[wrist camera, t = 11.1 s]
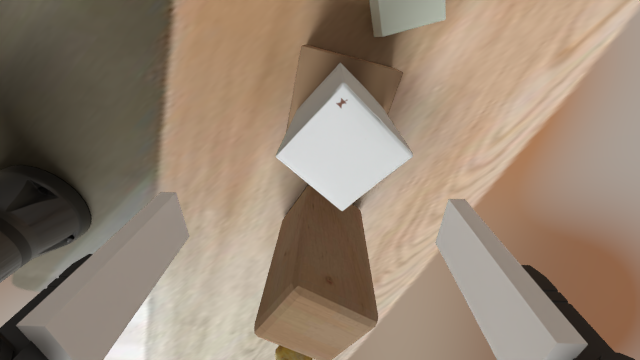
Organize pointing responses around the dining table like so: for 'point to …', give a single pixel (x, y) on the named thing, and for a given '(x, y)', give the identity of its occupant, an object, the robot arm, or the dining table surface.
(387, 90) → the base block
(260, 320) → the wooden block
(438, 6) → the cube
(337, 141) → the supplement box
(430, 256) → the dining table surface
